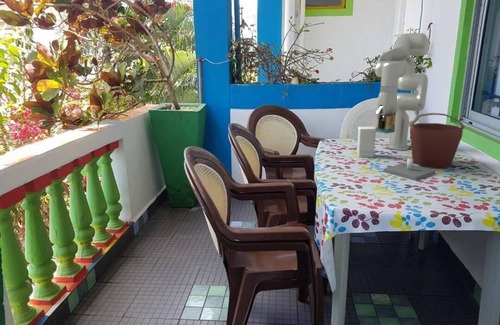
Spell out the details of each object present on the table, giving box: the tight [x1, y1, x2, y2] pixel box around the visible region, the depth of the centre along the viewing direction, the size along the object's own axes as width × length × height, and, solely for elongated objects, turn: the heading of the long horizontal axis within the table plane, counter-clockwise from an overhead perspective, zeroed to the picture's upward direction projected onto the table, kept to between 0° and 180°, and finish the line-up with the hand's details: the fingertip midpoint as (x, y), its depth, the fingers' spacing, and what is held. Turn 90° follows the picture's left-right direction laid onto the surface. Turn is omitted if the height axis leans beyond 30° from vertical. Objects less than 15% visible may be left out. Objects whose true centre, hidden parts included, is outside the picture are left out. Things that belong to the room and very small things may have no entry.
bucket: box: [408, 112, 466, 170], centre depth 186 cm, size 24×22×25 cm
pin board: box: [382, 157, 436, 181], centre depth 174 cm, size 16×16×6 cm
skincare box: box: [356, 126, 377, 158], centre depth 202 cm, size 8×7×16 cm
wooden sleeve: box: [375, 114, 396, 134], centre depth 182 cm, size 6×6×8 cm
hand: (385, 127), depth 182 cm, fingers closed on wooden sleeve, 6 cm apart
